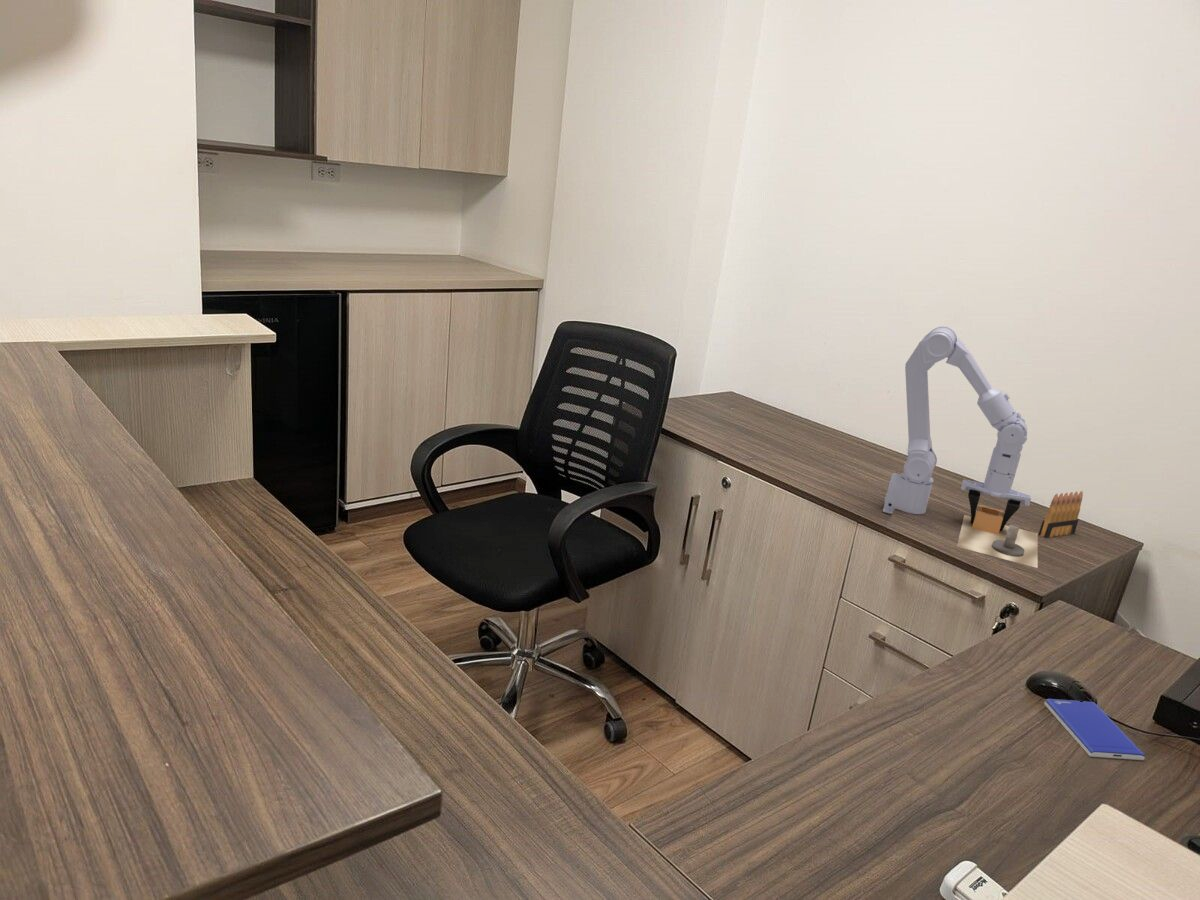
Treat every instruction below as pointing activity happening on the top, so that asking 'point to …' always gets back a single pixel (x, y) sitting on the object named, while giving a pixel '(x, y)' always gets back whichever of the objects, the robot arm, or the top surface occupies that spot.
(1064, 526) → the ammunition clip
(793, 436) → the top surface
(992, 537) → the post board
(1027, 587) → the top surface
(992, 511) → the collar
